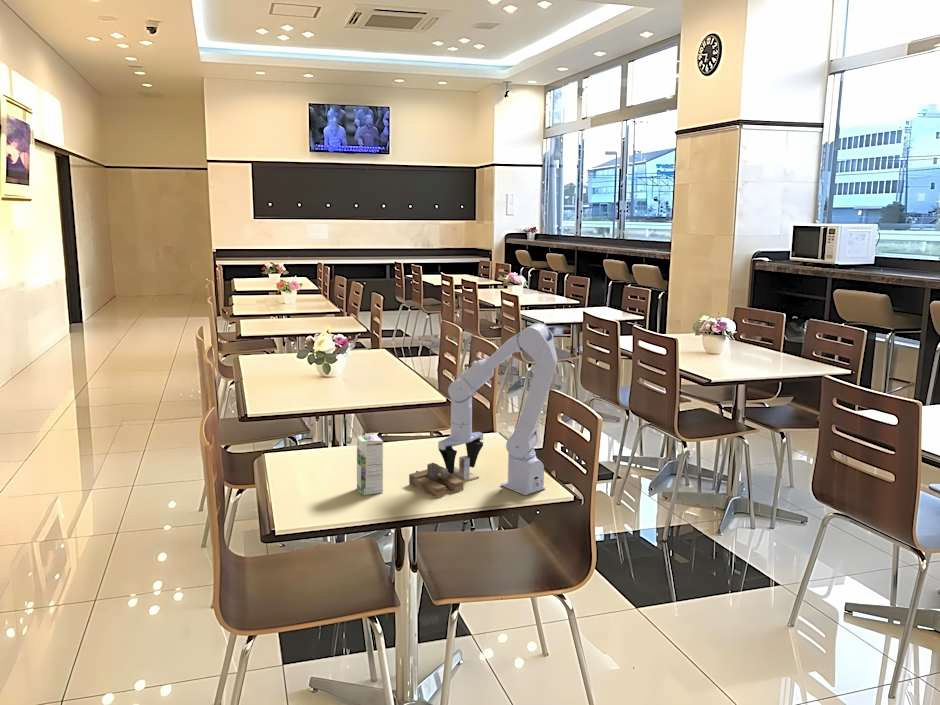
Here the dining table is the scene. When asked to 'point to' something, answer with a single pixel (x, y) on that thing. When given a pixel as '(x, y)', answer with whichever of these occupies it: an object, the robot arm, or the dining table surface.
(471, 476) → the cork mat
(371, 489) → the drink carton
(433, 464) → the vise
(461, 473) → the grey l-shaped block
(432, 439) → the dining table surface
